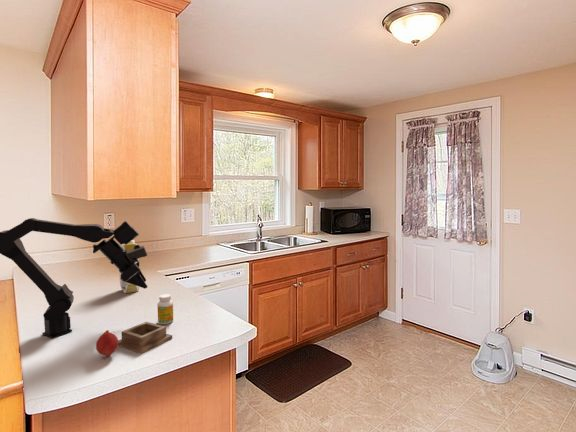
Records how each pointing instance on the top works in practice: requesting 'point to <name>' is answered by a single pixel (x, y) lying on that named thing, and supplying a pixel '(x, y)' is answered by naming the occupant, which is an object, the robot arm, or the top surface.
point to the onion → (107, 343)
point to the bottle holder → (143, 337)
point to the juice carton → (124, 285)
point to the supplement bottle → (165, 309)
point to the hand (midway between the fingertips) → (145, 284)
